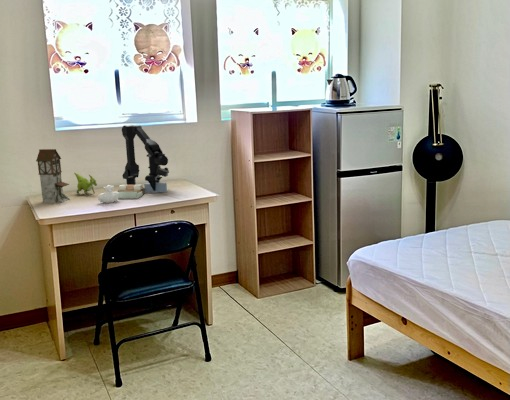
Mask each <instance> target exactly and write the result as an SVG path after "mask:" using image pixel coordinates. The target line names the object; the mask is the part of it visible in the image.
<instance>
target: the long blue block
mask: <svg viewBox="0 0 510 400" xmlns="http://www.w3.org/2000/svg"><path fill="white" fill-rule="evenodd" d="M167 184H168V183H167V181H165V182H164V181H163V182H159V183H156V190H155V191H154V190H153V189H152V187H151V185H150V183H149V182H145V183H144V185H143V186H144V187H143V188H145V193H144V194H150V193H151V194H152V193H167V192H168V185H167Z"/></svg>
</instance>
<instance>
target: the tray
mask: <svg viewBox="0 0 510 400" xmlns="http://www.w3.org/2000/svg"><path fill="white" fill-rule="evenodd" d="M118 193H119V198H118V200H124V199H125V200H130V199H131V200H135V199H136V200H137V199H139V198H141V197H143V194H142V191H141V192H140V193H138V194H137V192H118Z"/></svg>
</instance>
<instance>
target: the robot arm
mask: <svg viewBox="0 0 510 400" xmlns="http://www.w3.org/2000/svg"><path fill="white" fill-rule="evenodd" d="M121 134H122V137H123V138H124V139H125V150H126V160H127V161H126V164H125V166H124V171H123V174H122V179H123V180H126V185H137V182H136V178H139V174H140V165H139V164H137V162H136V154H135V141H134V139H135V138H136V136H137V137H138V138H139V140H140V141H141V142H142V144H143V145H144V149H145V151H146V152H147V154H146V157H147V158H148V164H149V165H148V167H147V168H148V169H149V173H148V175H146V176H145V177H144V181H147V183H150V185H151V187H152V189H153V190H154V191H155V190H156V183H161V182H160V180H161V179H163V177H165V178H166V177H168V176H169V173H170V170H169V168H168V167H166V165H168V163H169V159H168V157H167V156H166V153H163V150H162V148H161V147H160V145H159V144H158V142H156V141H155V140H153V139H151V137H149V135H148V133H146V131H145V130H144V129H143V128H142V125H140V124H136V125H135V124H126V125H125V124H124V125H123V126H122V128H121ZM161 166H165V167H164V168H162V167H161Z"/></svg>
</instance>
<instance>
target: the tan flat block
mask: <svg viewBox="0 0 510 400" xmlns="http://www.w3.org/2000/svg"><path fill="white" fill-rule="evenodd" d="M141 191H142V194H146V193H145V188H144V187H143V189H141V190H119V189H118V190H116V192H137V194H138V193H140V192H141Z"/></svg>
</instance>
